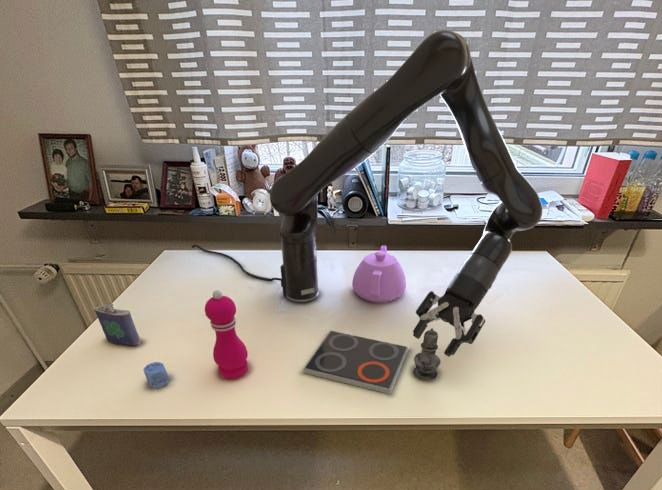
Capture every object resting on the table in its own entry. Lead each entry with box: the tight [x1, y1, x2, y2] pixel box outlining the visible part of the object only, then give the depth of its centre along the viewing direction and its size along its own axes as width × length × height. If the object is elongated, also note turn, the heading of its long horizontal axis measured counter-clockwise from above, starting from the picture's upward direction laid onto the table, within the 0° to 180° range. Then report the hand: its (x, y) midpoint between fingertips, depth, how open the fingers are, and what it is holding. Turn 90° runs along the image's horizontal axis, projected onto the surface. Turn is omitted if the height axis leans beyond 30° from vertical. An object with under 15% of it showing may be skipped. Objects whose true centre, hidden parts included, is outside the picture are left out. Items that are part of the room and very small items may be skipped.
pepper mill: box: [204, 290, 249, 380], centre depth 85 cm, size 7×7×20 cm
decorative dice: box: [142, 361, 170, 389], centre depth 87 cm, size 4×4×4 cm
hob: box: [302, 330, 409, 395], centre depth 94 cm, size 20×16×2 cm
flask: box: [94, 302, 142, 348], centre depth 96 cm, size 9×3×11 cm, turn 74°
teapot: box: [351, 245, 407, 303], centre depth 117 cm, size 22×16×12 cm
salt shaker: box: [413, 327, 442, 381], centre depth 88 cm, size 6×6×12 cm
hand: (430, 346), depth 87 cm, fingers open, 8 cm apart
